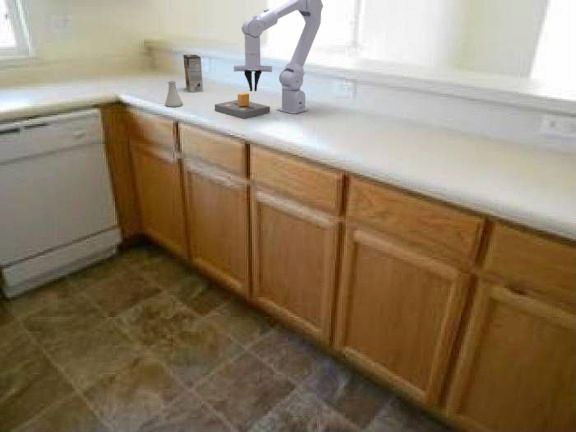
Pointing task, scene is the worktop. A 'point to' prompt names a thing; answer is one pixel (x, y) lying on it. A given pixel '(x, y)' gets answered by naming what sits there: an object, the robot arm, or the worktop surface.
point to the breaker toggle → (243, 99)
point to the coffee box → (193, 73)
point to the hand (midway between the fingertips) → (253, 90)
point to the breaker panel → (242, 109)
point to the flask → (173, 96)
